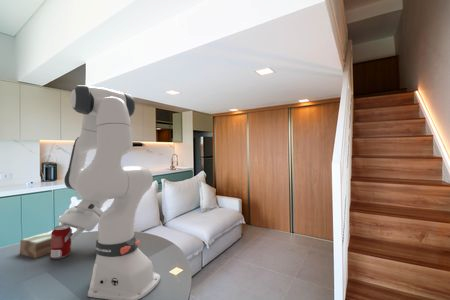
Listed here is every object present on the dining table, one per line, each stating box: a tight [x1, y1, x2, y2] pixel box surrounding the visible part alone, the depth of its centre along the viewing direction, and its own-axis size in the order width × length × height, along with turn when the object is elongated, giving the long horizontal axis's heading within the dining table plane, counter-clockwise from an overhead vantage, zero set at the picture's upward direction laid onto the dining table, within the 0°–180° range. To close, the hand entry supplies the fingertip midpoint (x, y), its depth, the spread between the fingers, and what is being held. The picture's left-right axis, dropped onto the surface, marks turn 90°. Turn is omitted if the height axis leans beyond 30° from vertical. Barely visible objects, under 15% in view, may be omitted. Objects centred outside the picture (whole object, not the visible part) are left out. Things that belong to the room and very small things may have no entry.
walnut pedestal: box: [19, 231, 52, 259], centre depth 92 cm, size 10×10×6 cm
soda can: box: [49, 224, 73, 260], centre depth 88 cm, size 7×7×12 cm
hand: (64, 236), depth 89 cm, fingers open, 8 cm apart
